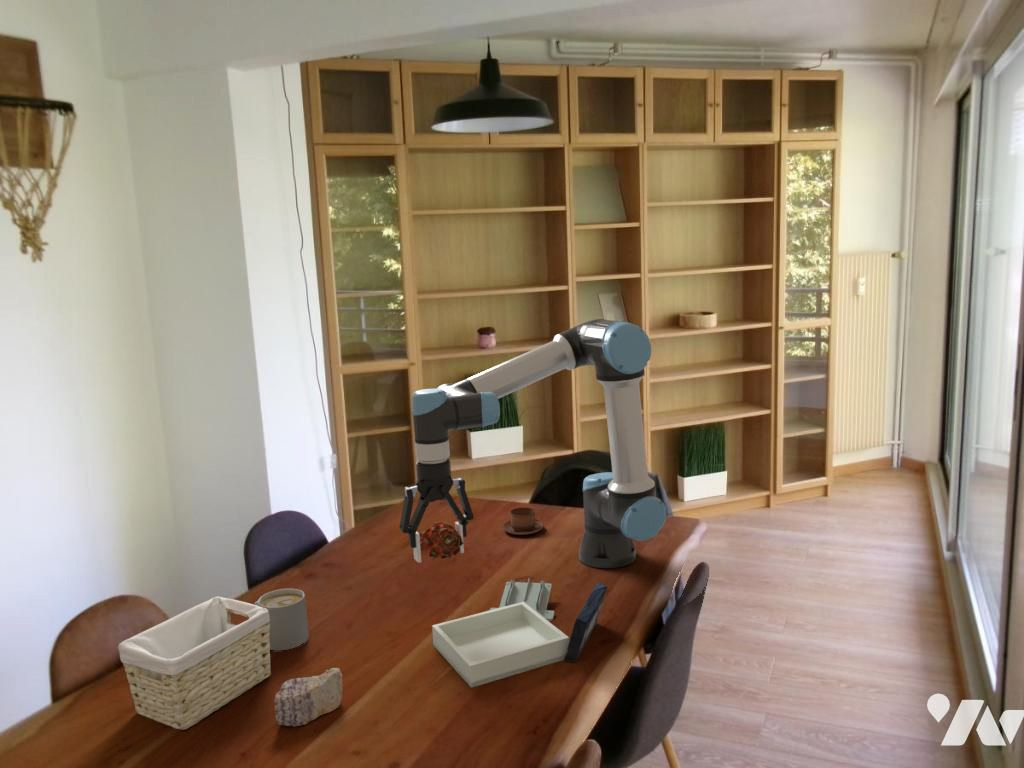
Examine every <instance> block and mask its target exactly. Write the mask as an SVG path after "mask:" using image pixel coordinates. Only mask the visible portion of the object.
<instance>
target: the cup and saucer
mask: <svg viewBox="0 0 1024 768" xmlns="http://www.w3.org/2000/svg"><path fill="white" fill-rule="evenodd" d="M509 513H510V515H509V516H510V520H508V521H506V522H505V523H504V524H503V525H502V528H503V530H504V531H505V532H506V533H509V534H511V535H515V536H517V535H518V536H527V535H533V534H535V533H538V532H540V531H541V530H542V529H543V528H544V523H543V521H541V520H539V519H536V510H535V508H532V507H516V508H513V509H511V510H510V511H509Z"/></svg>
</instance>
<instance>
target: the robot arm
mask: <svg viewBox="0 0 1024 768" xmlns="http://www.w3.org/2000/svg"><path fill="white" fill-rule="evenodd" d="M651 356H652V344H651V339H649V335H648V334H647V333H646V331H645V330H644V329H642V328H641V327H640V326H639V325H636V324H634V323H631V322H628V321H624V320H622V321H620V320H610V319H603V318H599V319H598V318H596V319H591V320H587V321H585V322H583V323H580V324H577V325H575V326H573V327H571V328H569V329H567V330H564V331H562V332H560V333H558V334H556V335H554V336H553V339H552V340H551V341H550V342H549V341H548V342H547V343H545V344H542V345H541V346H538V347H536V348H533V349H531V350H529V351H527V352H525V353H522V354H520V355H518V356H515V357H513V358H511V359H508V360H507V361H503V362H502V363H499V364H496V365H495V366H493V367H491V368H488V369H486V370H483V371H481V372H480V373H477V374H475V375H472V376H470V377H468V378H465V379H464V380H461V381H458V382H456V383H443V384H441V385H439V386H438V387H437V388H434V387H433V388H424V389H418V390H416V391H414V393H413V394H412V397H411V398H412V399H411V415H412V423H413V433H414V435H413V436H414V447H415V448H414V451H415V459H416V460H417V461H416V462H415V466H416V467H415V468H416V484H415V485H413V486H410V487H408V486H405V487H404V488H403V495H404V499H403V506H402V512H401V517H400V522H399V530H400V531H401V532H402V533H403V534H407V536H408V537H407V538H408V545H409V547H410V548H411V549H413V559H414V561H416V562H417V563H422V553H421V552H422V551H421V549H420V544H421V542H420V532H418V529H419V526H420V525H421V522H422V519H423V516H424V515H425V513H426V512H425V511H426V509H427V508H428V506H429V504H430V503H433V502H436V501H443V500H444V501H445V503H446V505H447V506H448V508H449V509H450V510H451V512H452V513H453V515H454V516H455V518H456V519H457V521H455V522H454V529H455V530H456V531H457V532H458V533H459V534H460V536H461V538H462V541H463V542H464V538H466V537H467V534H468V533H467V525H468V523H469V521H472V520H474V518H475V516H474V513H473V510H472V507H471V505H470V501H469V498H468V497H469V496H468V495H467V491H466V481H465V480H464V479H463V478H462V477H457V478H452V469H451V459H449V458H450V455H451V452H450V439H449V438H450V435H449V432H451V431H457V430H463V429H464V430H465V429H472V428H473V429H474V428H480V427H482V428H485V427H487V426H490V425H491V426H492V425H495V424H497V423H498V422H499V420H500V417H501V416H500V415H501V405H500V401H499V399H501V398H503V397H505V396H507V395H509V394H511V393H514V392H517V391H519V390H520V389H523V388H525V387H528V386H529V385H532V384H534V383H536V382H539V381H541V380H542V379H543V380H544V379H545V378H547V377H549V376H552V375H554V374H557V373H558V372H560V371H563V370H568V371H573V370H575V369H578V368H580V367H581V368H582V367H585V366H594V369H595V378H596V381H597V382H598V383H599V384H601V385H602V386H603V394H604V395H603V396H604V405H605V412H606V422H607V431H608V432H607V433H608V434H607V435H608V441H609V442H608V443H609V453H610V460H611V461H610V462H611V472H609V471H606V472H599V473H594V474H589V475H587V476H585V478H584V479H583V483H582V493H583V496H582V498H583V519H584V525H583V526H584V532H583V535H582V537H581V541H580V545H579V548H578V559H579V561H580V562H581V563H582V564H584V565H586V566H589V567H593V568H597V569H617V568H618V569H619V568H622V567H626V566H629V565H631V564H633V563H634V562H635V561H636V559H637V554H636V552H637V551H636V547H635V544H634V542H633V540H635V541H637V542H642V541H643V542H644V541H648V540H651V539H652V538H654V537H655V536H656V535H658V533H659V532H660V530H661V529H663V527H664V525H665V523H666V519H667V508H666V506H665V503H664V502H663V501H662V499H661V498H659V497H657V491H656V483H655V481H654V480H653V479H652V477H650V476H649V474H648V473H649V472H648V464H647V463H648V462H647V452H646V451H647V450H646V442H645V432H644V422H643V421H644V420H643V410H642V408H643V407H642V400H641V390H640V389H641V388H640V382H641V380H642V379H643V378H644V376H646V375H645V374H646V373H645V368H646V367H647V366H648V362H649V361H650V359H651ZM453 487H454V488H455V489H456V494H457V496H458V500H459V502H460V505H461V507H462V511H463V513H462V511H461V510H460V508H459V506H458V505H457V503H456V502H455V501H454V498H453V496H452V495H451V494H450V492H451V489H452V488H453ZM417 492H418V493H419V494H420V495H419V498H418V500H417V504H416V507H415V510H414V512H413V513H412V509H413V507H414V506H413V504H414V498H415V496H416V493H417ZM464 544H465V543H464ZM464 544H462V545H461V546H460V552H459V553H460V554H464V553H465V547H464V546H465V545H464Z"/></svg>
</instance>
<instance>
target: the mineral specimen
mask: <svg viewBox="0 0 1024 768" xmlns="http://www.w3.org/2000/svg"><path fill="white" fill-rule="evenodd" d="M343 689H344V686H343V673H342V672H341V669H340V668H339V667H332V668H330V669H326V670H325V672H323V673H322V674H319V675H312V676H308V677H297V678H292V679H287V680H286V681H284V683H282V684H281V687H280V690H279V691H278V692H276V694H275V695H274V696H275V697H274V710H275V711H274V712H275V720H276V722H277V723H278V725H279V726H284V727H293V728H295V727H297V726H298V727H299V726H303V725H305V726H306V725H307V724H308V723H310V722H312V721H314V720H316V719H317V718H318V717H320V716H322V715H326V714H327V713H331V712H333V711H334V710H336V709H337V708H339V707H340V706H341V705H340V704H341V702H342V699H343V697H342V696H343Z"/></svg>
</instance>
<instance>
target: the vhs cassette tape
mask: <svg viewBox="0 0 1024 768" xmlns="http://www.w3.org/2000/svg"><path fill="white" fill-rule="evenodd" d="M607 589H608V585H605V583H602V582H597V583H596V584H595V586H594V587H593V589H592V591H591V593H590V594H589V596H588V598H587V600H586V602H585V603H584V604H583V606H582V608H581V610H580V612H579V614H578V616H577V617H576V619H575V622H574V624H573V628H572V632H571V634H570V637H569V645H568V648H567V652H566V656H565V659H564V660H563V661H566V662H569V663H571V664H576V662H577V661H578V659H579V658H580V655H581V654H582V652H583V650H584V648H585V647H586V645H587V643H588V641H589V639H590V638H591V637H590V636H591V635H592V632H593V631H594V629H595V627H596V625H597V623H598V619H599V615H600V613H601V610H602V606H603V603H604V599H605V595H606V594H607V593H606V592H607Z"/></svg>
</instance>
